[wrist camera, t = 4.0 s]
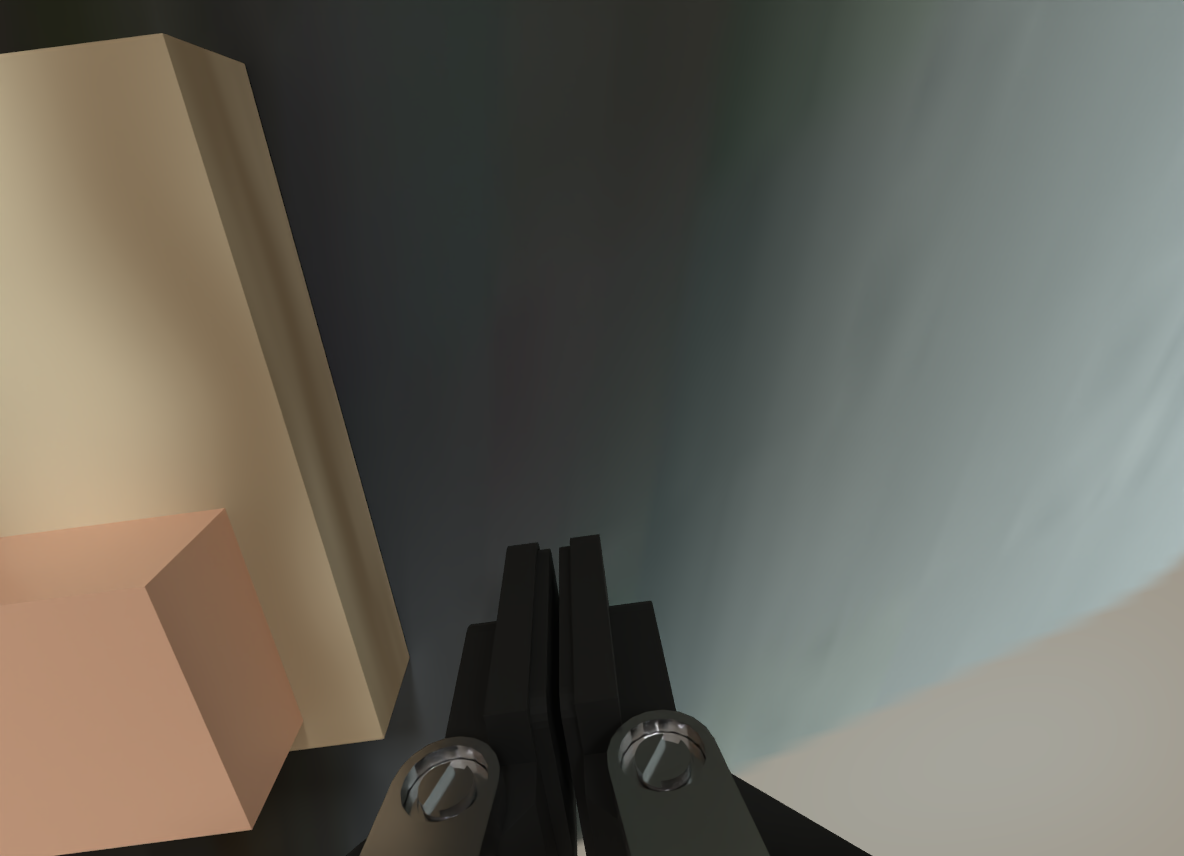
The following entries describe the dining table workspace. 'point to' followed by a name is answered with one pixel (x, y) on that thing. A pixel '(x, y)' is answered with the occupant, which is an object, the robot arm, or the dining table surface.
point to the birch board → (181, 352)
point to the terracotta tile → (135, 687)
